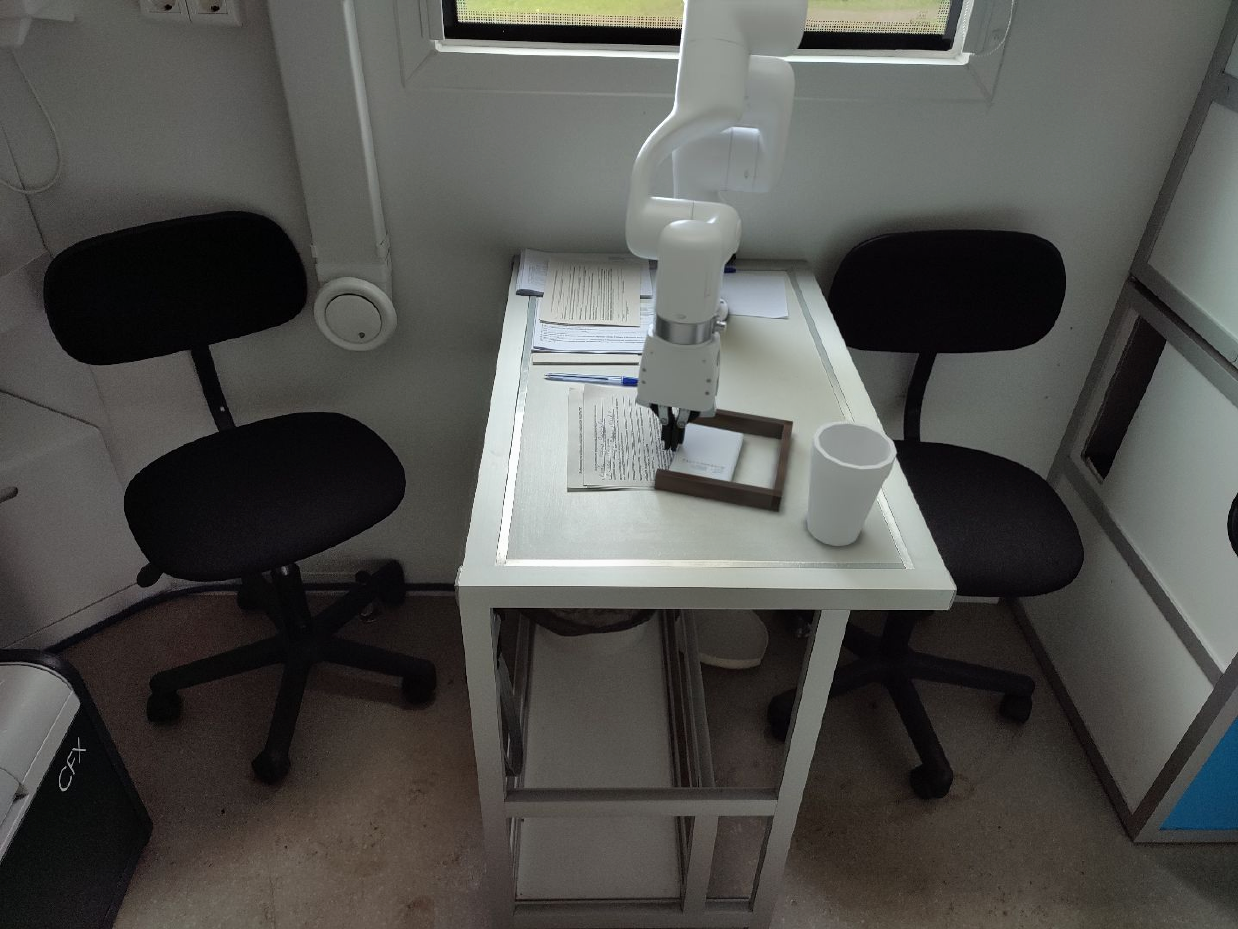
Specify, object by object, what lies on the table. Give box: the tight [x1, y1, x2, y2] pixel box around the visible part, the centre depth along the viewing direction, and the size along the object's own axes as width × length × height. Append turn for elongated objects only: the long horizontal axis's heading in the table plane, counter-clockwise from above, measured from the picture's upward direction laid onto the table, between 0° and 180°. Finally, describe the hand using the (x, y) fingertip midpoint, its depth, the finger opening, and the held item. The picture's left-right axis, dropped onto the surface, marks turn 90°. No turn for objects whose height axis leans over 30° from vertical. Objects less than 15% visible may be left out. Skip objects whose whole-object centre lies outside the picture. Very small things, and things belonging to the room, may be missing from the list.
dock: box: [653, 408, 794, 512], centre depth 116 cm, size 17×16×2 cm
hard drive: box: [668, 423, 745, 482], centre depth 116 cm, size 2×8×12 cm
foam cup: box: [806, 420, 898, 547], centre depth 102 cm, size 10×9×13 cm
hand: (671, 445), depth 116 cm, fingers closed
